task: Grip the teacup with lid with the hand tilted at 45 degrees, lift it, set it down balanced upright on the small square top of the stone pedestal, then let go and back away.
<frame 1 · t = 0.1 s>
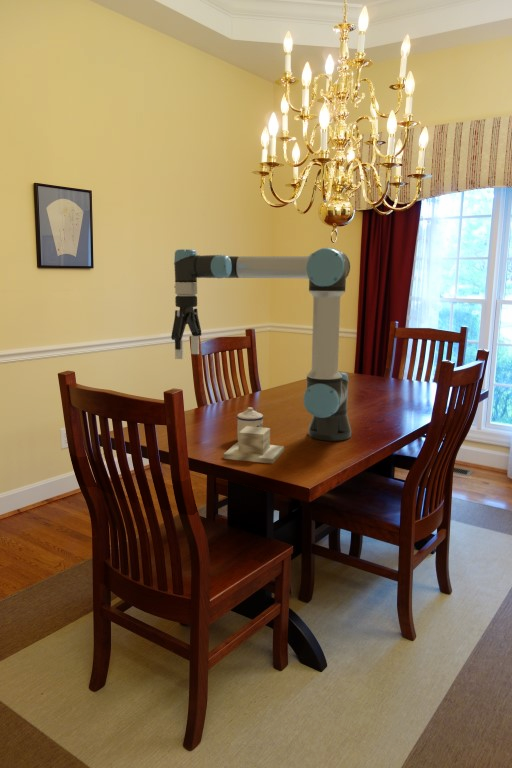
hand: (187, 356, 205), 28 cm above the table, tool pointing down, fingers open, 13 cm apart
stone pedestal: (254, 454, 186), on the table
teacup with lid: (251, 440, 203), on the table
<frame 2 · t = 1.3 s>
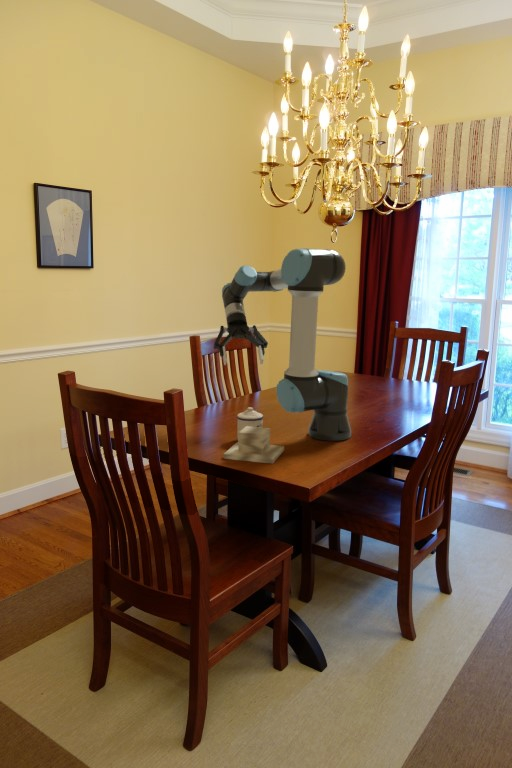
hand: (244, 362, 212), 25 cm above the table, tool tilted 45°, fingers open, 13 cm apart
nothing on the table moved.
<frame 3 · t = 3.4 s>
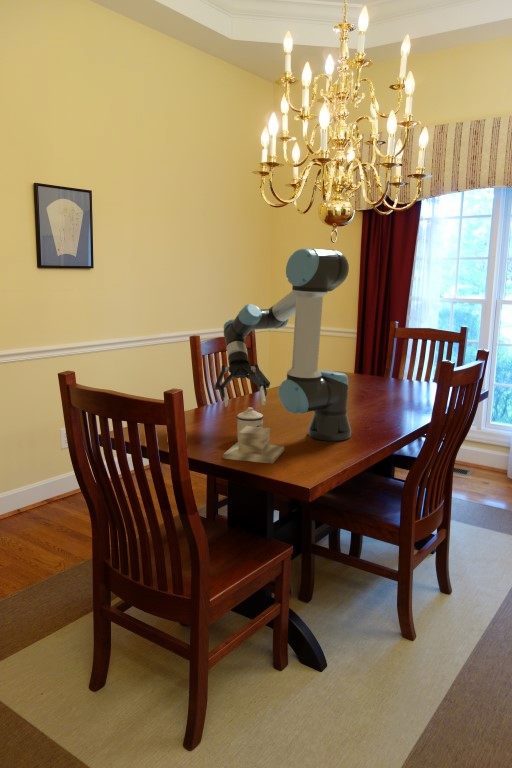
hand: (245, 404, 207), 11 cm above the table, tool tilted 45°, fingers open, 13 cm apart
nothing on the table moved.
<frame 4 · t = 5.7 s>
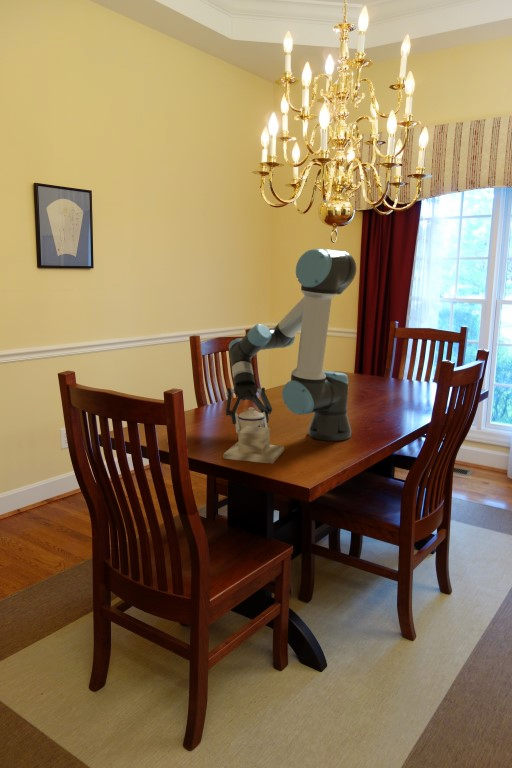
hand: (252, 430, 199), 4 cm above the table, tool tilted 45°, fingers closed on teacup with lid, 9 cm apart
teacup with lid: (252, 440, 203), on the table, touching gripper
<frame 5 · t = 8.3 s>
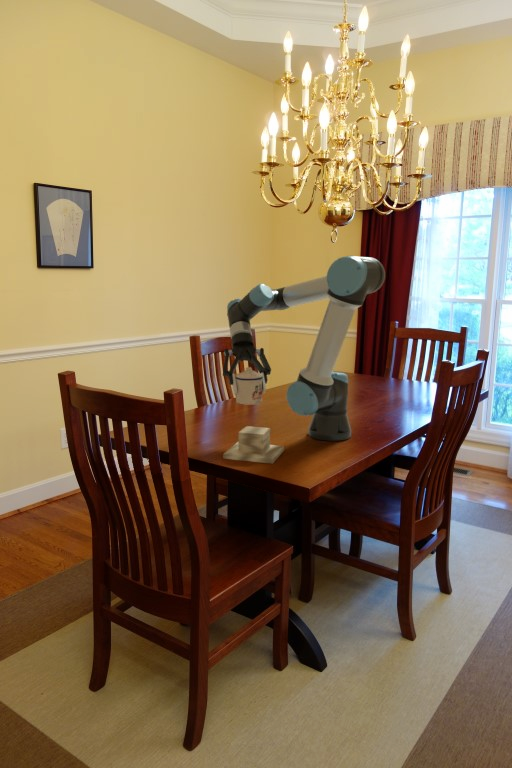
hand: (250, 391, 192), 18 cm above the table, tool tilted 45°, fingers closed on teacup with lid, 9 cm apart
teacup with lid: (250, 401, 196), point 14 cm above the table, touching gripper
when the fingers open (13 cm above the table, at t = 10.8 s): teacup with lid drops 1 cm, resting on stone pedestal.
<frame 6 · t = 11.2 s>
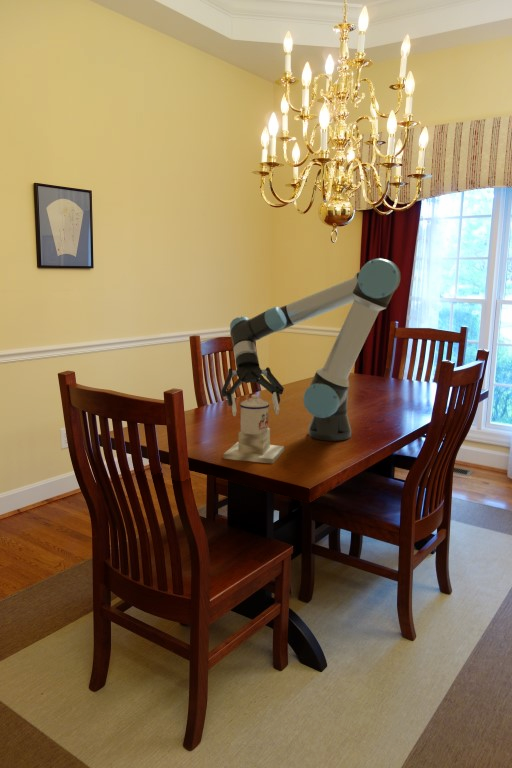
hand: (256, 412, 181), 14 cm above the table, tool tilted 45°, fingers open, 13 cm apart
teacup with lid: (255, 430, 184), point 8 cm above the table, touching stone pedestal
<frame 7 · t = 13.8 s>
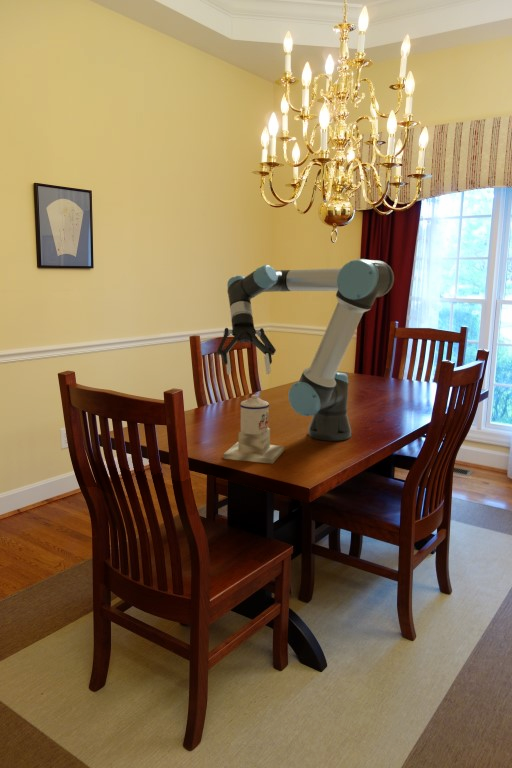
hand: (249, 372, 194), 24 cm above the table, tool tilted 35°, fingers open, 13 cm apart
nothing on the table moved.
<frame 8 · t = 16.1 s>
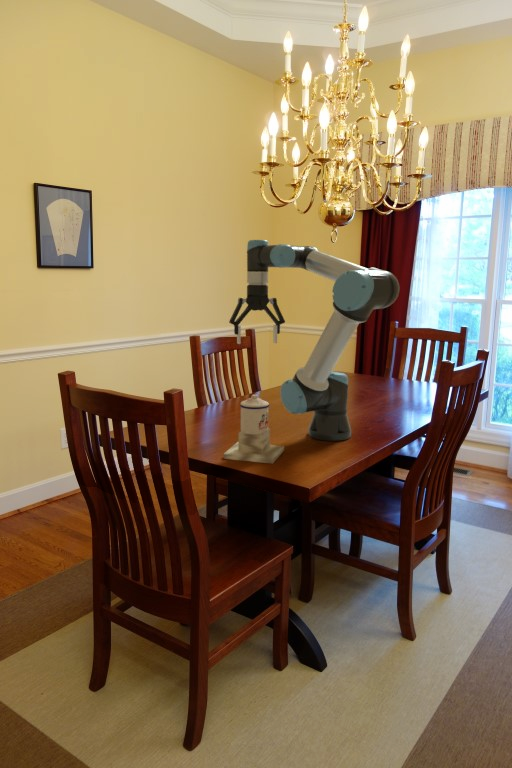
hand: (257, 343, 213), 32 cm above the table, tool pointing down, fingers open, 13 cm apart
nothing on the table moved.
at the end: teacup with lid inside the target area on the stone pedestal (0.4 cm from its centre), point 7.8 cm above the stone pedestal's base; teacup with lid tilted 0°; the gripper is holding nothing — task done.
